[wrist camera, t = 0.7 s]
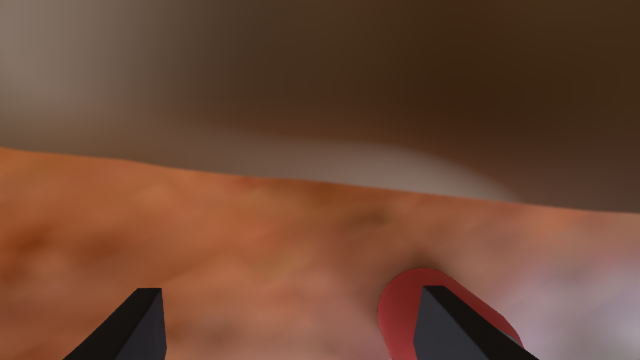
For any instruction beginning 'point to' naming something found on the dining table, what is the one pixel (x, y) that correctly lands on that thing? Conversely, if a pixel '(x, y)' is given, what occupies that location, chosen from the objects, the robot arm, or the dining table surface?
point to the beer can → (403, 307)
